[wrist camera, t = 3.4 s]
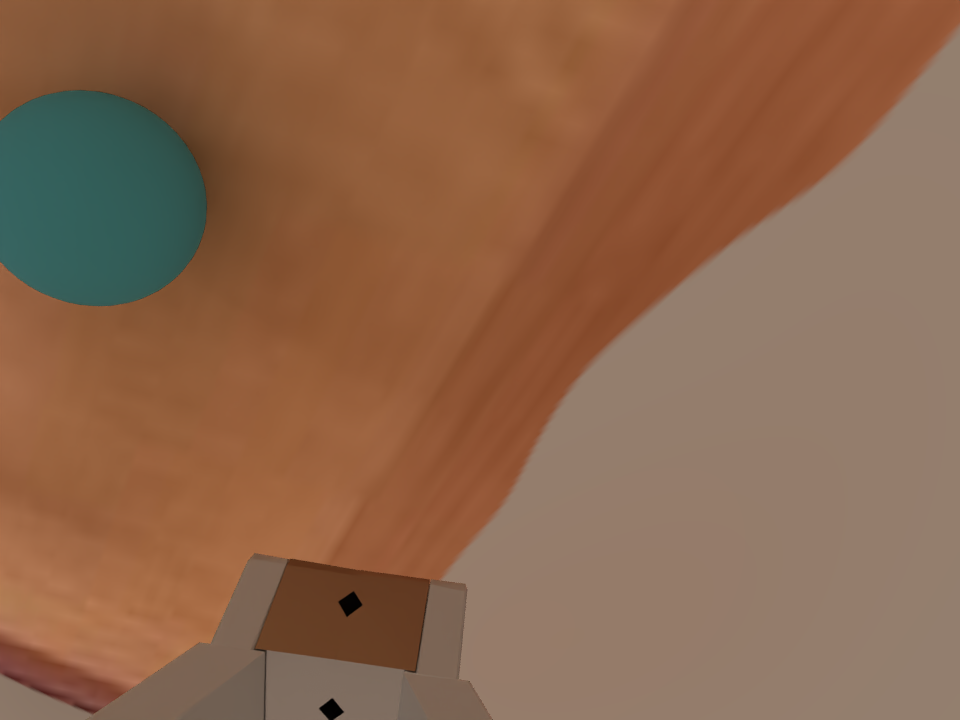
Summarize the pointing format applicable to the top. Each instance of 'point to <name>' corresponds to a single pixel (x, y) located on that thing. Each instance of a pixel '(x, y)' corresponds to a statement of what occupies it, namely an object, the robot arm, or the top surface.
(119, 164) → the ball
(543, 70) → the top surface
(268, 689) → the robot arm
